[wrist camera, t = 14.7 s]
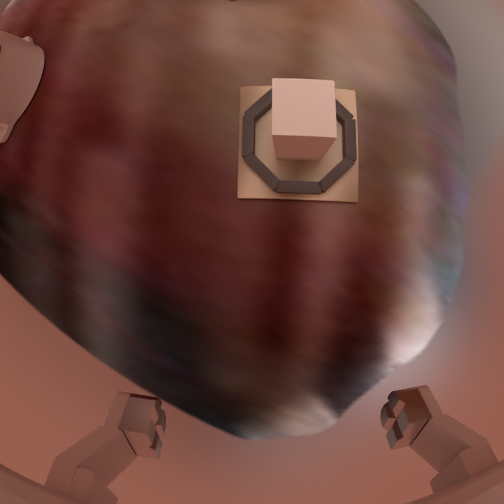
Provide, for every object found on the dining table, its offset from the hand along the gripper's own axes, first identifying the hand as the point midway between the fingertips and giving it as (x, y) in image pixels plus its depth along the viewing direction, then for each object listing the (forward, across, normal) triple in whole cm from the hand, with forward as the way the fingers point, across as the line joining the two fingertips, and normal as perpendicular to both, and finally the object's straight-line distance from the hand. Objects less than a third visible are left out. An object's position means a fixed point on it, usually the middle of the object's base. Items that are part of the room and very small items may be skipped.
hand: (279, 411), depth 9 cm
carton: (+21, -3, -8) cm, 23 cm away
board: (+22, -4, -7) cm, 24 cm away
